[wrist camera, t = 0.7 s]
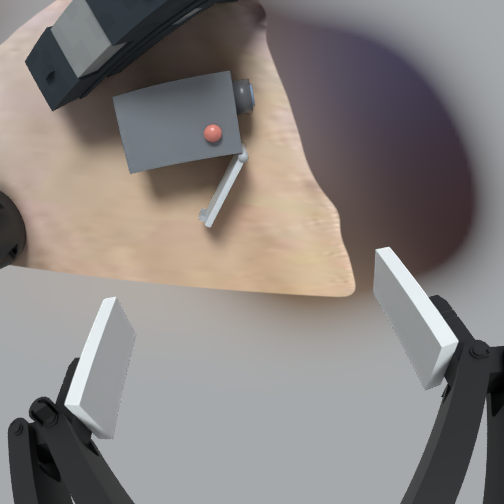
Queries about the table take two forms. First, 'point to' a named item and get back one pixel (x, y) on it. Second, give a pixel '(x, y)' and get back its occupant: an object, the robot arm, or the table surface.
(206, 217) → the door
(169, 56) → the table surface
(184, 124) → the camera body
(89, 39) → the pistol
